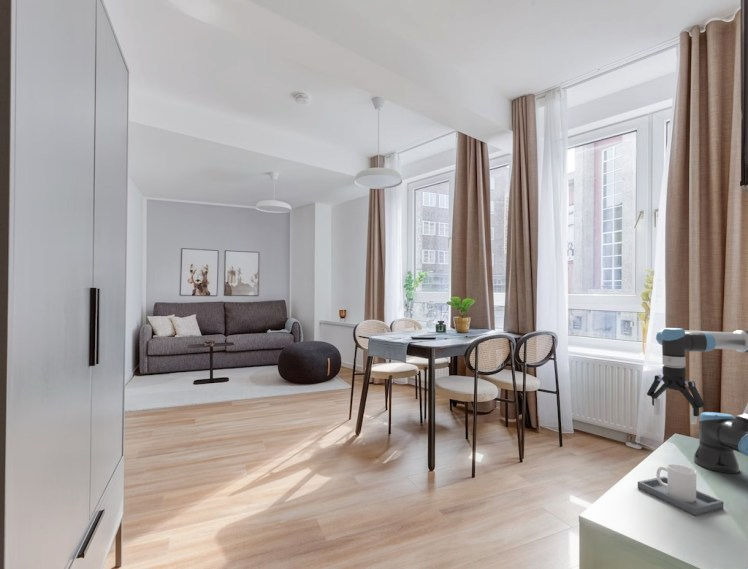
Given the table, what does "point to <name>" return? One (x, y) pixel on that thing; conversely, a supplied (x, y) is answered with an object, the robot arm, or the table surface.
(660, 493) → the grey tray
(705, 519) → the table surface
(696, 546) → the table surface
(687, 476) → the cup
